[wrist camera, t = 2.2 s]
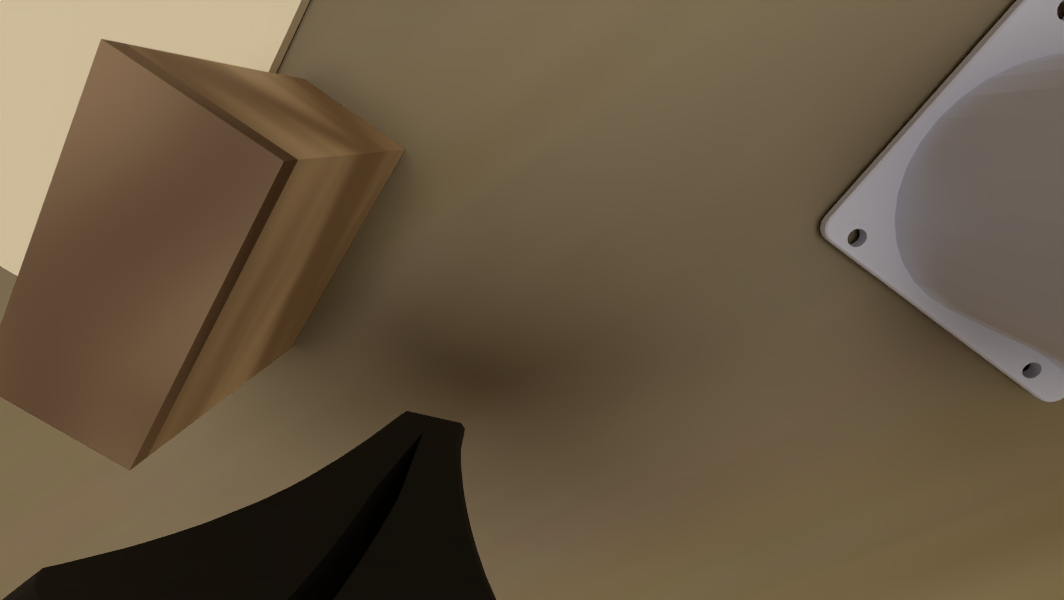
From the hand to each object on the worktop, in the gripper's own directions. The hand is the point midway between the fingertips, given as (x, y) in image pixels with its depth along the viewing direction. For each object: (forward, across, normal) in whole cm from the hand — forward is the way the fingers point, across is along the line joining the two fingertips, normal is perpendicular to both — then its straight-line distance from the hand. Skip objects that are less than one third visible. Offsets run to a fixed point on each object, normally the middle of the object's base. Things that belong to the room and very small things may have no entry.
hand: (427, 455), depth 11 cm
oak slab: (+6, +6, -3) cm, 9 cm away
